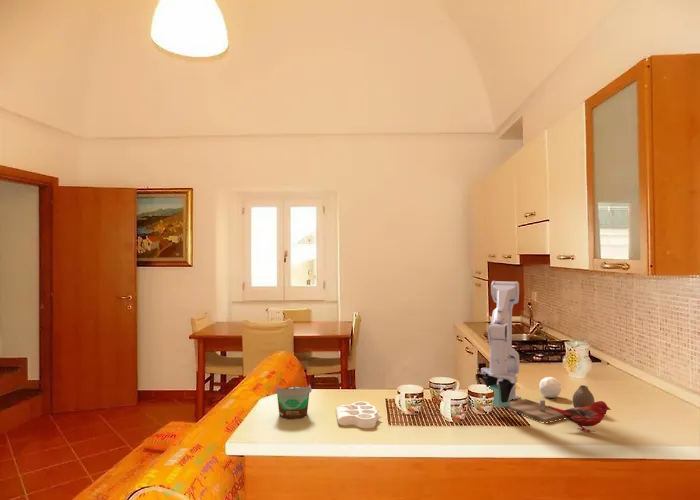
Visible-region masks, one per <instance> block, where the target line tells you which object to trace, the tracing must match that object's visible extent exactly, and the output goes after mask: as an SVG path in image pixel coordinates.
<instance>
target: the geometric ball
mask: <svg viewBox="0 0 700 500" xmlns="http://www.w3.org/2000/svg"><path fill="white" fill-rule="evenodd" d="M538 388H539V390H538V391H540V393H541V394H542V396H543V397H546V398H547V399H550V398H551V399H554V398H556V397H558V396H560V394H561V391H562V386H561V382H559V380H558V379H556V378H555V377H553V376H546V377H544V378H542V379H541V380H540V381H539V384H538Z"/></svg>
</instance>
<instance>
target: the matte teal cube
mask: <svg viewBox="0 0 700 500" xmlns="http://www.w3.org/2000/svg"><path fill="white" fill-rule="evenodd" d="M488 387H489V386H488ZM489 389H491V390H493V392H495V395H494V400H493V405H492V406H493V407H495V408H502V407H505V406H509V405H510V402H511V400H510V395H509V398H508V402H504V403H503V402H502V400H501V389H500V386H499V384H495V385H490V387H489Z"/></svg>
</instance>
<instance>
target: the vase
mask: <svg viewBox="0 0 700 500" xmlns="http://www.w3.org/2000/svg"><path fill="white" fill-rule="evenodd" d="M594 402H596V401H595V397H594V394H593V393H592V392H591V391H590V389H589V386H587V385H584V384H583V385H579V387H578V388H577V389H576V390H575V392H574V393H573V396H572V406H573V408H577V407H586V406H590V405H591V404H593V403H594Z"/></svg>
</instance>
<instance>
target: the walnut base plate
mask: <svg viewBox="0 0 700 500" xmlns="http://www.w3.org/2000/svg"><path fill="white" fill-rule="evenodd" d="M538 400H539V401H538V402H537V401H533V400H530V399H519V400H515V401H510V405H509V406H505V407H504V408H507V409H510V410H513V411H516V412H518V413H520V414H523V415H525V416H528V417H530V418H533V419H535V420H534V421H536V420H538V421H541V422H544V423H546V422H550V421H555V420H559V419H563V420H565V419H564V418H566V417H565V416H564V415H563V414H562V413H560V412H558V411H556V410H554V409H552V408H550V407H548V406H549V405H546V400H544V399H538ZM525 416H524V417H525ZM528 417H527V418H528ZM530 418H529V419H530ZM533 419H532V420H533ZM538 421H537V422H538ZM559 421H560V420H559ZM541 422H540V423H541ZM555 422H556V421H555ZM544 423H543V424H544ZM550 423H551V422H550ZM546 424H547V423H546Z"/></svg>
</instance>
